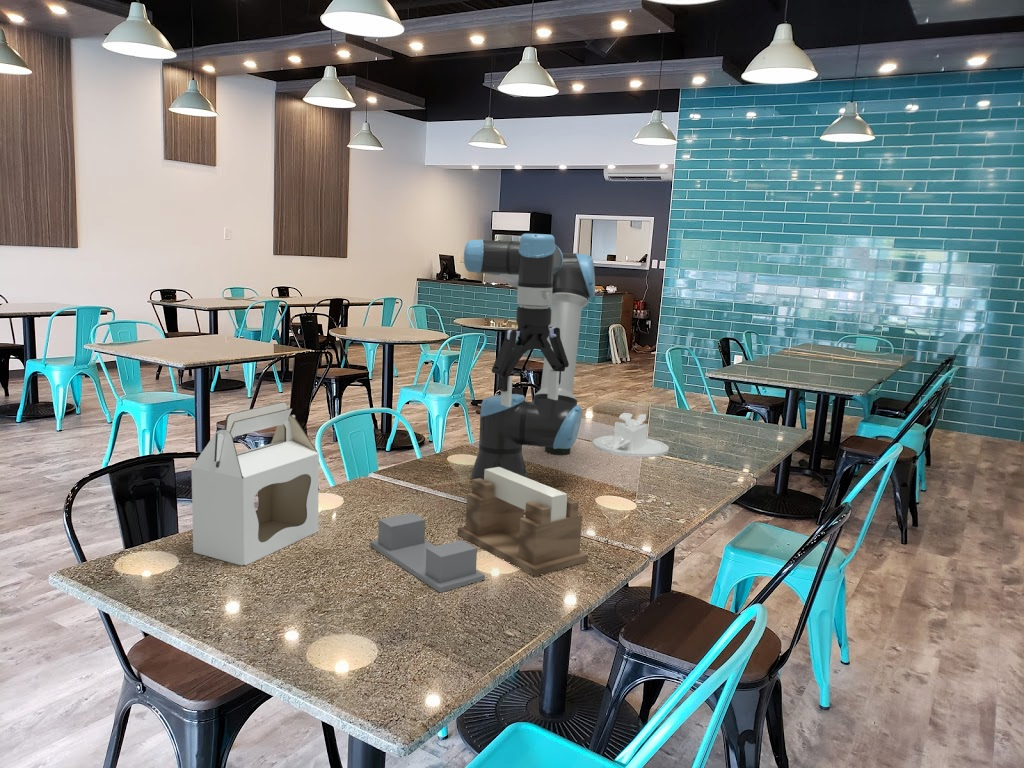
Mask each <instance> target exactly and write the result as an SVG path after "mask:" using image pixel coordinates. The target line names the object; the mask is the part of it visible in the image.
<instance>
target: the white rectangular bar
mask: <svg viewBox="0 0 1024 768" xmlns="http://www.w3.org/2000/svg"><path fill="white" fill-rule="evenodd" d="M484 480H485V481H488V482H490V483H492V484H494V492H493V496H495V497H497V498H499V499H501V500H504V501H506V502H508V503H510V504H512V505H515V506H517V507H519V508H521V509H524V511H525V510H526V503H527V502H532V501H534V502H537V503H539V504H541V505H544V506H546V507H548V508H550V522H552V521H556V520H560V519H564V518H566V509H567V498H568V493H566V492H564V491H562V490H558V489H556V488H554V487H551V486H549V485H546V484H544V483H540V482H538V481H536V480H533V479H531V478H528V477H527V478H526V477H524V476H521V475H519V474H516V473H514V472H511V471H509V470H506V469H504V468H501V467H495V468H489V469H485V471H484Z"/></svg>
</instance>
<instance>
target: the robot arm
mask: <svg viewBox="0 0 1024 768" xmlns="http://www.w3.org/2000/svg"><path fill="white" fill-rule="evenodd" d="M555 241H556V238H555V237H554V235H553V234H544V233H523V234H521V236H520V239H519V241H513V240H510V241H509V240H507V241H506V240H505V241H504V240H490V239H483V238H480V239H469V240H468V241H467V242H466V244H465V247H464V253H463V263H464V267H465V269H466V271H467V272H469V273H476V274H487V275H491V276H494V277H497V278H500V279H502V280H503V281H504V282H505V283H506V284H507V285H509V286H510V287H513V288H516V289H517V295H516V298H517V299H516V304H517V305H519V306H517V308H516V324H517V328H516V329H517V330H512V329H506V330H505V332H504V339H503V342H502V345H501V346H500V349H499V352H498V354H497V356H496V359H495V361H494V363H493V366H492V368H491V373H493V374H495V375H497V376H499V381H498V388H499V391H500V394H498V395H491V396H489V397H486V398H484V399H483V400H482V402H481V407H480V413H479V436H478V439H479V441H478V442H479V443H478V452H477V455H476V458H475V461H474V464H473V467H472V469H471V474H470V475H471V477H470V478H471V479H470V480H472V479H478V478H481V479H483V480H484V471H485V469H489V468H495V467H501V468H504V469H506V470H509V471H511V472H514V473H516V474H519V475H521V476H524V477H526V478H528V472H527V468H526V465H525V461H524V457H523V446H529V447H530V446H531V447H532V446H533V447H539V448H540V447H541V448H545V447H550V448H554V449H557V448H560V449H568V448H570V449H571V448H572V447H573V446H574V445H575V443H576V440H577V438H578V435H579V431H580V426H581V421H582V414H583V409H582V407H581V406H580V405H578V399H577V396H575V395H574V393H573V391H574V382H575V374H576V363H577V356H578V347H579V337H580V328H581V320H582V310H583V308H585V307H586V306H587V305H588V304H589V298H590V299H591V298H594V297H595V296H596V295H595V294H596V276H595V264H594V259H593V258H592V256H591V255H590V254H585V253H578V252H575V253H573V252H572V253H571V252H562V250H561V249H560V248H559V246H557V245H556V242H555ZM533 350H539V351H540V352H541V353H542V355H543V357H544V358H543V359H544V360H543V365H542V366H543V367H542V375H541V384H540V389H539V390H538V391H537V392H536V393H534V396H533V400H532V401H526V397H525V395H523V394H519V393H512V392H513V391H512V390H513V377H512V376H511V374H512V373H513V371H514V369H515V367H516V366H517V365H518V363H519V361H520V360H521V359H522V357H523V355H524V354H525V353H527V352H528V351H533Z"/></svg>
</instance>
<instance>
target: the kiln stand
mask: <svg viewBox="0 0 1024 768" xmlns="http://www.w3.org/2000/svg"><path fill="white" fill-rule="evenodd" d="M377 530H378V534H377V535H378V538H377V539H376V540H371V541H369V544H370V545H369V547H371V548H372V549H374V551H375V550H376V551H377V552H378V553H380V554H382V555H383V556H384V557H385V558H387V559H389V561H391V562H393V563H395V564H396V565H397V566H399V567H400V568H402V569H403V570H405V571H407V572H408V573H410V574H411V575H413V576H414V577H415V578H417V579H419V580H420V581H422V582H423V583H424V584H426V585H428V586H429V587H431V588H432V589H433V590H435V591H436V592H438V593H439V592H440V593H444V592H448V591H452V590H455V589H460V588H462V587H461V586H463V587H466V586H468V585H467V584H470V585H472V584H471V583H473V584H476V583H475V582H477V583H479V581H480V582H483V581H482V580H484V581H485V580H486V575H485V574H484V573H481V571H479V570H477V560H478V559H477V556H478V548H477V547H475V546H474V545H472V544H470V543H468V542H466V541H465V540H463V539H460V540H459V539H458V540H455V541H451V542H447V543H444V544H443V543H442V544H439V545H434V544H433V543H431V542H429V541H428V540H426V519H424V518H423V517H421V516H419V515H418V514H416V513H413V512H409V513H404V514H401V515H394V516H390V517H385V518H380V519H378V529H377ZM465 585H466V586H465ZM451 589H452V590H451Z"/></svg>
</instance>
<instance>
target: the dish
mask: <svg viewBox="0 0 1024 768" xmlns="http://www.w3.org/2000/svg"><path fill="white" fill-rule="evenodd" d="M633 415H634V414H632V413H630V412H623V413H621V414H620V415H619V417H618V419H619V420H622V421H623V422H621V421H615V423H614V434H613V435H604V436H602V435H601V436H598V437H595V438H594V439H593V440H592V444H591V445H592V446H593V448H595V449H596V450H598V451H600V452H604V453H607V454H611V455H616V456H622V457H623V456H624V457H630V458H655V457H662V456H664V455H666V454H668V453H669V452H670V447H669V446H668V445H667V444H666V443H664V442H662V441H659V440H656V439H652V438H649V437H648V430H649V429H648V428H649V424H648V423H644V422H645V421H646V420H647V414H646V413H644V414H643V413H641V414H640V415H638V417H637V419H635V418H632V417H633Z"/></svg>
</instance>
